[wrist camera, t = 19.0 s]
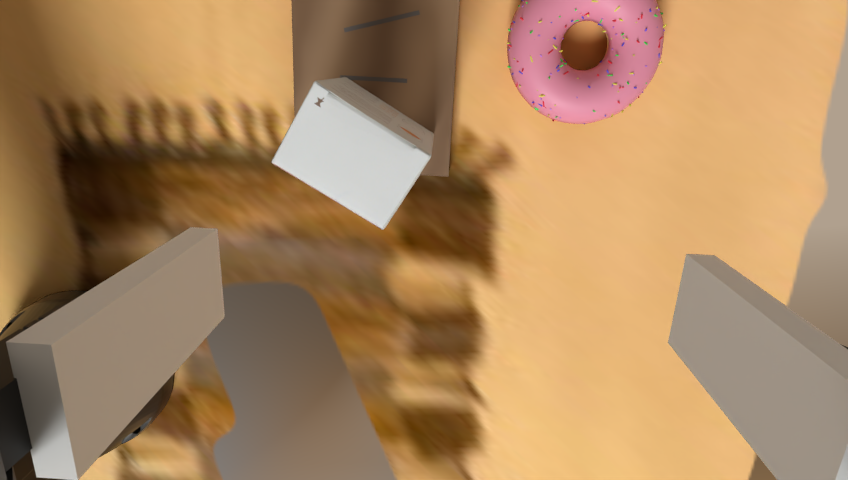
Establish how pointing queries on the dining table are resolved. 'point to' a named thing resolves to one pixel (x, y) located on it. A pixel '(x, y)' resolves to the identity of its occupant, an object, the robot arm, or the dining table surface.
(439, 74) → the board
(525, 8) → the doughnut
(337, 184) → the small box
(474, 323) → the dining table surface
